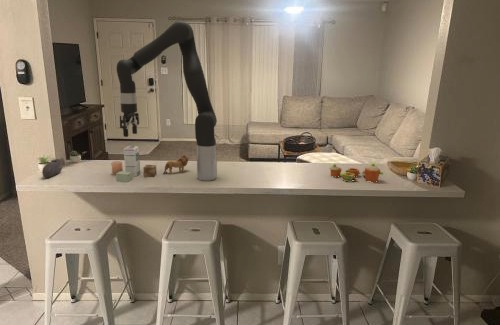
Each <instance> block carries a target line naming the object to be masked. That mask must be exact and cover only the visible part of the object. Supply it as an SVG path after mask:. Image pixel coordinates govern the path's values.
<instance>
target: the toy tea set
mask: <svg viewBox="0 0 500 325" xmlns="http://www.w3.org/2000/svg"><path fill="white" fill-rule="evenodd" d="M329 170H330V177H332V176H336V177H335V178H339V177H338V176H340V177H342V181H343V180H344V181H343V182H346V181H348V183H353V182H352V180H354V181H355V180H356V181H358V180H359V179H358V177H354V176H359V175H361V174H362V176H363V177H364V176H365V177H364V178H365V182H367V181H371V182H376V181H377V182H378V180H379V176H380V175H381V176H382V175H383V174H384V172H383V171H381V169H380V168H379V167H378V166H377V165H375V163H373V162H372V163H371V164H370V165H367V167H364V170H363V171H362V172H360V169H358V168H353V167H350V168H348V169H346V170H345V172H344V173H342V170H343V169H342V168H341V167H339V166H337V164H335V163H334V164H333V165H332V166H330V167H329ZM356 181H355V182H356ZM377 182H376V183H377Z"/></svg>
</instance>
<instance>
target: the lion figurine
mask: <svg viewBox="0 0 500 325" xmlns="http://www.w3.org/2000/svg"><path fill="white" fill-rule="evenodd" d="M188 163H189V155H187V154H181V156H180V158H179V159H177V160H168V161H167V162H165V166H164V171H163V173H162V174H163V175H164V174H167V173H168V172H167V170H169V173H170V174H171V175H174V172H173V171H172V170H173V168H175V169H178V171H179V173H180V172H181V173H183V174H184V173H185V171H184V169H185V167H187V165H188Z"/></svg>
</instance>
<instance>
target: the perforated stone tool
mask: <svg viewBox="0 0 500 325" xmlns="http://www.w3.org/2000/svg"><path fill="white" fill-rule="evenodd" d="M62 169H63V165H62V163H61V159H60V158H55V159H54V160H53V159H52V160H51V161H49V162H48V163H46V164H45V165H44V167H43V168H42V172H41V174H42V176H43V177H44V178H46V179H47V178H48V179H49V178H51V177H54V176H57V175H58V174H59V173H60V172H62Z"/></svg>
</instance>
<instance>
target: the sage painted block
mask: <svg viewBox="0 0 500 325" xmlns="http://www.w3.org/2000/svg"><path fill="white" fill-rule="evenodd" d="M115 177H116V179H115V180H116V182H122V183H129V182H131V181H133V176H132V172H126V171H124V170H123V171H120V172H118V173H116V175H115Z"/></svg>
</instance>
